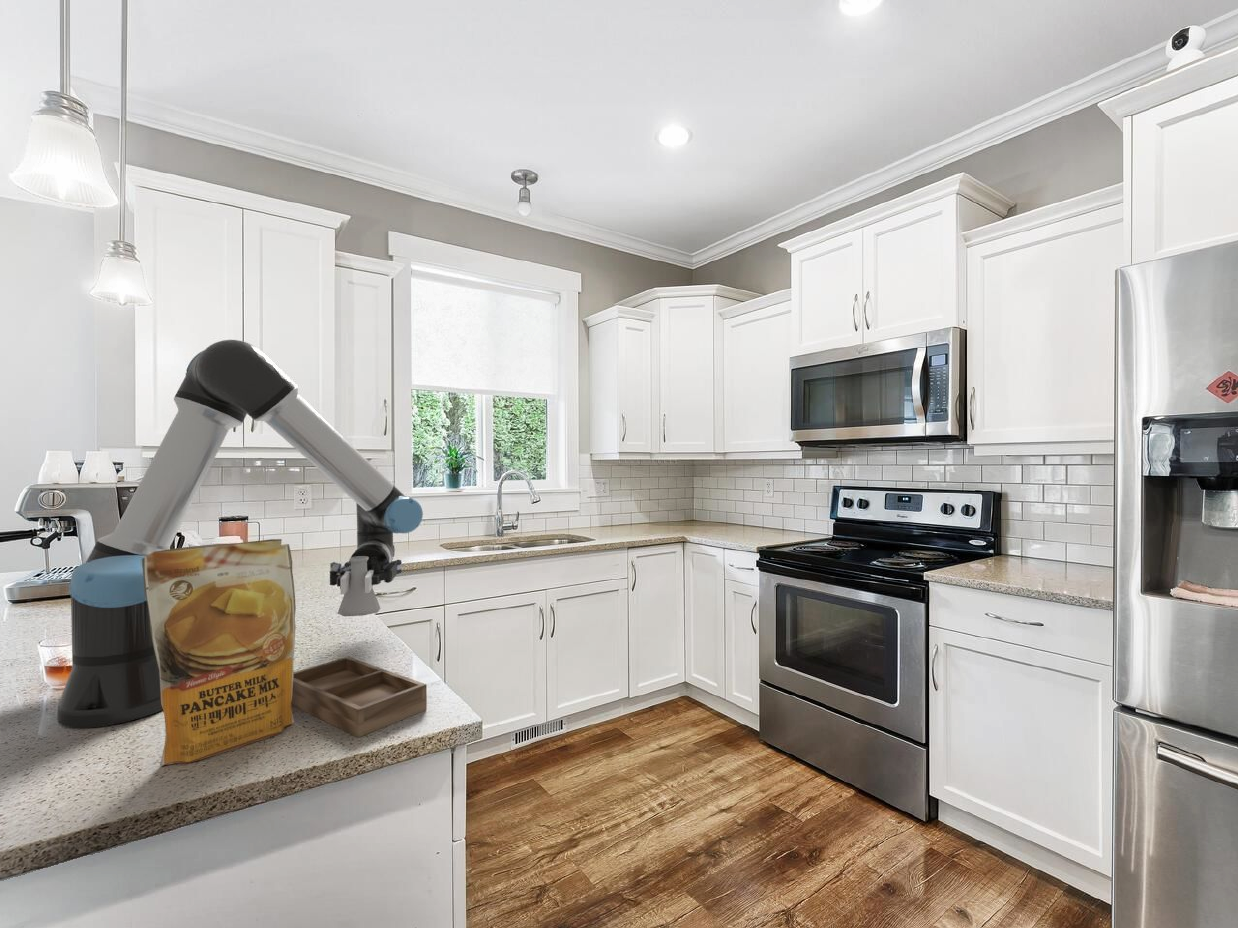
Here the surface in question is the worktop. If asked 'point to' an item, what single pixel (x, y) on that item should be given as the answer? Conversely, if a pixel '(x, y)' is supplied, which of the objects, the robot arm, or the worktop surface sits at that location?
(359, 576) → the flask
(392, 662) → the worktop surface
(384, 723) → the wooden tray
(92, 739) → the worktop surface
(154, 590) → the pancake mix bag
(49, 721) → the worktop surface
